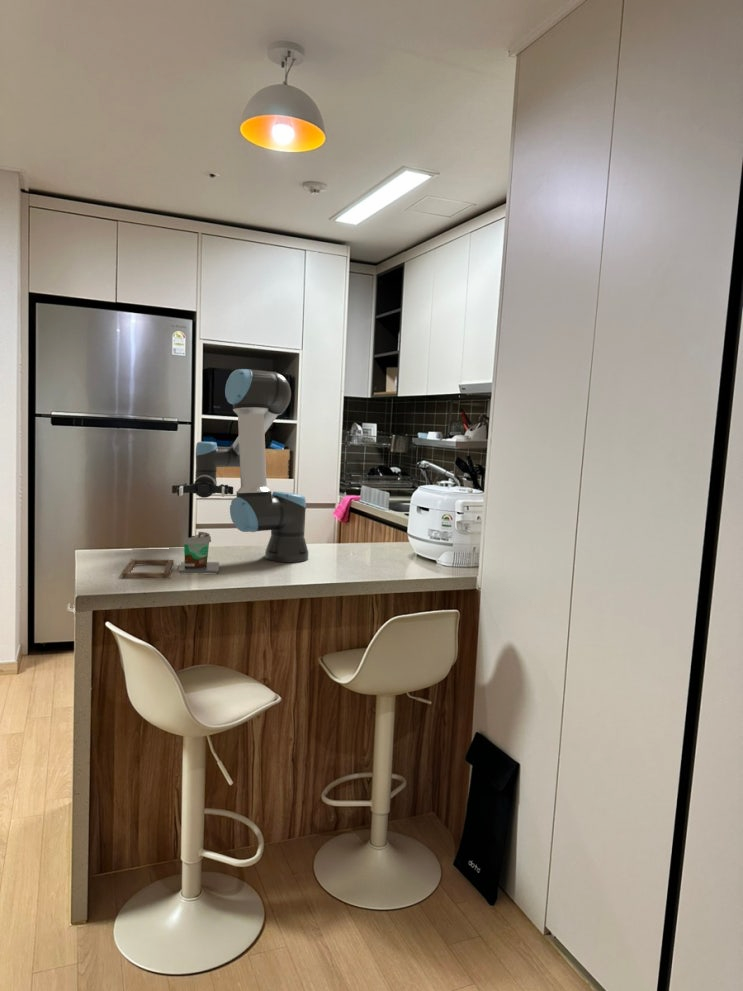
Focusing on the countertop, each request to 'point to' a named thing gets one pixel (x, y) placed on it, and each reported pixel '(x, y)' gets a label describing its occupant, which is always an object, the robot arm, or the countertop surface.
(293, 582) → the countertop surface
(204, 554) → the food container
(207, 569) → the plate
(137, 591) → the countertop surface
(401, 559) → the countertop surface
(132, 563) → the walnut holder
